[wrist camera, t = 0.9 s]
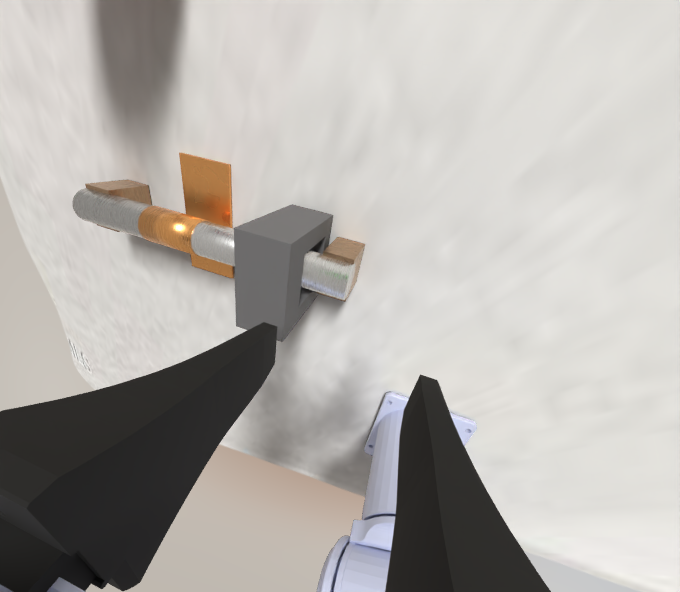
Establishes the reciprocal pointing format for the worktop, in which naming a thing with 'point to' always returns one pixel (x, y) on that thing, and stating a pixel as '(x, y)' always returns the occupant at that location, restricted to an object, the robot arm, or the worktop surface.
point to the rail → (206, 225)
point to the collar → (276, 266)
